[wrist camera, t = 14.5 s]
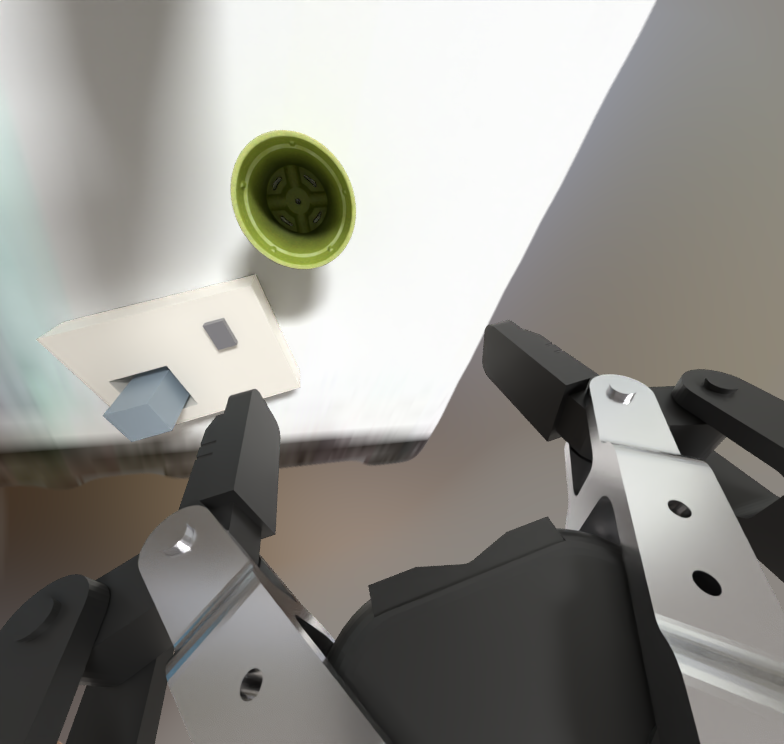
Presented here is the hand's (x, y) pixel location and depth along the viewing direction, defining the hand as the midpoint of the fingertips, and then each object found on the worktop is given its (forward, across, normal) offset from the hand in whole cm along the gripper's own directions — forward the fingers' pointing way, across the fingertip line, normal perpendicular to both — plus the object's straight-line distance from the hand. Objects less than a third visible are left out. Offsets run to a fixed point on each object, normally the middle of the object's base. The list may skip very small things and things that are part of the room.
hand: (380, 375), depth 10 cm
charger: (+27, +23, +12) cm, 38 cm away
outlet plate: (+27, +18, +10) cm, 34 cm away
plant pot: (+28, +2, -3) cm, 28 cm away
